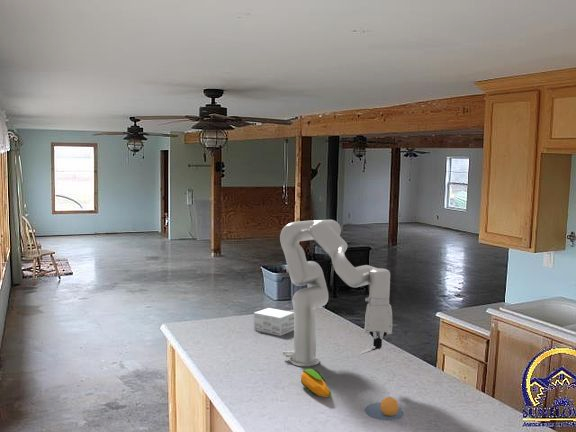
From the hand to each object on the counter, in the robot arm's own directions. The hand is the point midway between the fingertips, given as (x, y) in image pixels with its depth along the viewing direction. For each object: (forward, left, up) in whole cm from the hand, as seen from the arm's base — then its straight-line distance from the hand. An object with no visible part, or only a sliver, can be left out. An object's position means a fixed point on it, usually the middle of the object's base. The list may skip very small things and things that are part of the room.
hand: (377, 348), depth 209 cm
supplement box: (-44, +65, -15) cm, 80 cm away
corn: (-23, -11, -14) cm, 29 cm away
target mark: (0, -24, -14) cm, 28 cm away
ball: (+1, -27, -11) cm, 29 cm away
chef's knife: (0, +38, -15) cm, 41 cm away
